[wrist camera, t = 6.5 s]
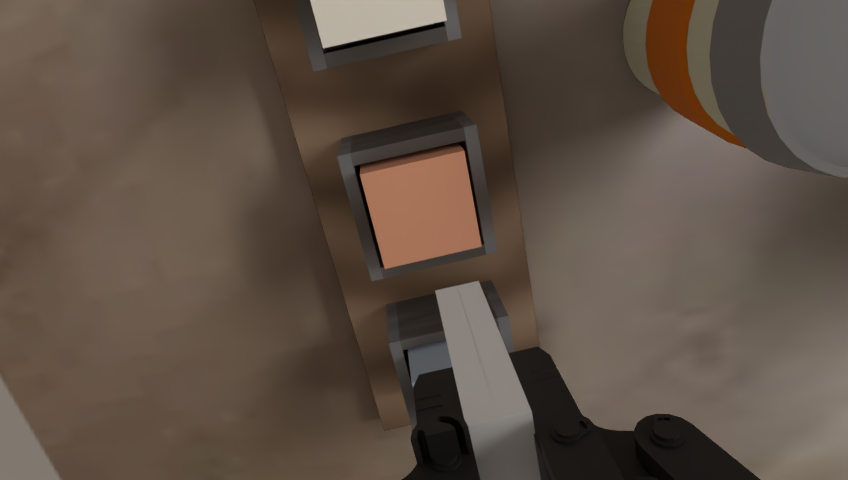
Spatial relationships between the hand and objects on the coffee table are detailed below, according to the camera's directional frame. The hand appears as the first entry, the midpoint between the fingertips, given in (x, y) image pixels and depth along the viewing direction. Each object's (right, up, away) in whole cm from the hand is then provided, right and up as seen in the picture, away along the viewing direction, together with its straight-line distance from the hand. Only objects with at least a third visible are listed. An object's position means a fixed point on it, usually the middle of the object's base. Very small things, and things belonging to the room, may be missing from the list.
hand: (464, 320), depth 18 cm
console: (-2, +7, +18) cm, 19 cm away
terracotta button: (-2, +6, +15) cm, 17 cm away
